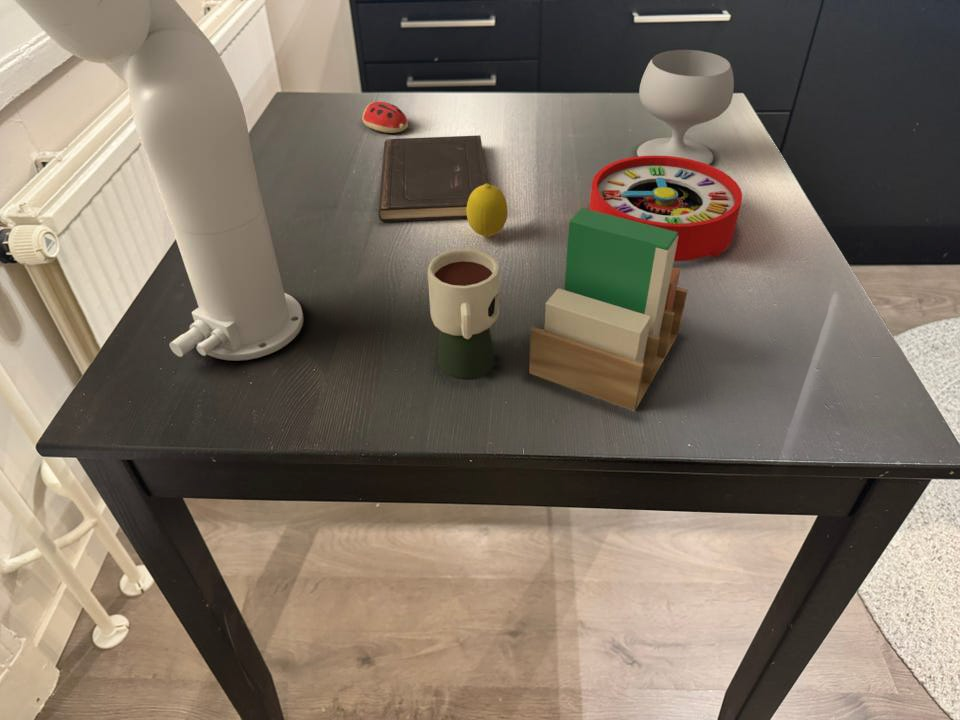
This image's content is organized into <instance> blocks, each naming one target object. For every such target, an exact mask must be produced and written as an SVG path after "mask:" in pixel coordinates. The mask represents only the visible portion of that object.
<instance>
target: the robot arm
mask: <svg viewBox="0 0 960 720" xmlns="http://www.w3.org/2000/svg"><path fill="white" fill-rule="evenodd" d="M14 2H16V4H17V5H19V7H20V8H22V9H23V10H24V11H25V12H26V14H27V15H28V16H29V17H30V18H31V19H32V20H33V21H34V22H35V23H36V24H37V25H38V26H39V27H40V28H41V29H42V30H43V32H44V33H45V34H46V35H47V36H49V38H50V39H51V40H53V41H54V42H55V43H57V45H58V46H59V47H61V48H63V49H64V50H65V51H67V52H68V53H70V54H71V55H73V56H75V57H77V58H79V59H82V60H85V61H87V62H90V63H94V64H101V65H103V64H104V65H106V67H107V68H108V69H109V70H110V71H111V72H112V73H113V74H114V75H116V77H118V78H119V80H120V81H122V83H123V84H124V85H126V87H127V89H128V90H127V91H128V99H129V103H130V109H131V113H132V118H133V123H134V126H135V129H136V132H137V136H138V138H139V142H140V145H141V147H142V150H143V152H144V154H145V157H146V160H147V162H148V164H149V167H150V170H151V172H152V175H153V178H154V181H155V183H156V186H157V189H158V192H159V195H160V198H161V201H162V204H163V207H164V210H165V212H166V216H167V218H168V222H169V223H170V226H171V229H172V232H173V235H174V238H175V241H176V244H177V246H178V247H177V248H178V250H179V252H180V253H179V254H180V255H181V258H182V261H183V264H184V268H185V271H186V273H187V277H188V279H189V282H190V286H191V288H192V291H193V294H194V297H195V300H196V304H197V306H198V307H197V308H195V309H194V310H193V311H191V316H192V318H193V321H194V322H192V323H191V324H190V325H189V330H187V331H186V332H184V333H182V334H180V335H179V336H178V337H176V338H175V339H173V340H172V341H170V342H169V348H170V350H171V351H172V353H173V354H174V355H175V356H177V357H179V358H182V357H184V356H185V355H186V354H188V353H189V352H190V351H192V350H193V349H194V348H196V351H197V352H198V353H199V354H200V355H201V356H203V357H206V356H210V357H212V358H215V359H219V360H224V361H234V362H235V361H249V360H253V359H259V358H262V357H264V356H268V355H270V354H273V353H276V352H278V351H279V350H281V349H283V348H284V347H286V346H287V345H288V344H289V343H291V342H292V341H293V340H294V339H295V338H296V337H297V336H298V334H299V333H300V332H301V330H302V328H303V325H304V320H305V319H304V313H303V309H302V306H301V304H300V302H299V301H298V300H297V299H296V298H295V297H293V296H292V295H290V294H288V293H286V292H285V290H284V286H283V282H282V277H281V273H280V270H279V265H278V260H277V256H276V252H275V249H274V248H275V247H274V243H273V240H272V234H271V230H270V226H269V223H268V222H269V221H268V219H267V214H266V210H265V206H264V201H263V197H262V194H261V190H260V189H261V188H260V185H259V180H258V176H257V173H256V167H255V163H254V158H253V157H254V156H253V153H252V146H251V141H250V135H249V134H250V133H249V128H248V124H247V123H248V122H247V119H246V114H245V110H244V106H243V104H242V101H241V97H240V95H239V92H238V90H237V87H236V85H235V83H234V81H233V79H232V77H231V74H230V72H229V71H228V69H227V68H226V66H225V63H224V61H223V59H222V57H221V55H220V53H219V52H218V51H217V49H216V47H215V45H214V44H213V43H212V41H210V39H209V38H208V36H206V34H205V33H204V32H203V31H202V30H201V28H200V27H199V26H198V25H197V24H196V23H195V21H194V20H193V19H192V18H191V17H190V15H188V13H187V12H186V11H185V10H184V8H182V6H181V5H180V4H179V3H178V1H177V0H14Z"/></svg>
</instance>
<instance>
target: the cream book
mask: <svg viewBox="0 0 960 720" xmlns="http://www.w3.org/2000/svg"><path fill="white" fill-rule="evenodd" d="M544 309H545V310H544V327H543V330H545V331H548V332H551V333H554V334H557V335H560V336H563V337H566V338H569V339H572V340H575V341H578V342H581V343H584V344H587V345H590V346H593V347H596V348H599V349H602V350H605V351H608V352H611V353H614V354H617V355H620V356H623V357H626V358H629V359H632V360H635V361H638V362H641V363H643V360H644V354H645V349H646V343H647V338H648V332H649V326H650V321H651V316H648V315H645V314H642V313H638V312H635V311H632V310H628V309H625V308H622V307H619V306H615V305H612V304H609V303H605V302H602V301H599V300H596V299H592V298H589V297H586V296H582V295H579V294H576V293H573V292H569V291H566V290H564V288H563V289H562V288H560V287H559V288H557V289H556V290H555V291H554V292H553V294H552V295H551V296H550V297H549V299H548V300H547V301H546V303H545V308H544Z"/></svg>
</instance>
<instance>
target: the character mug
mask: <svg viewBox="0 0 960 720" xmlns="http://www.w3.org/2000/svg"><path fill="white" fill-rule="evenodd" d="M427 282H428V283H427V284H428V296H429V297H428V298H429V311H430V318H431V321H432V323H433V325H434V327H436V328H437V329H438V330H439V331H440V332H439V339H438V351H437V352H438V353H437V354H438V355H437V361H438V367H439V368H440V370H441V372H443V374H445V375H447V376H449V377H453V378H457V379H466V380H469V379H477V378H480V377H483V376H484V375H486V374H487V373H489V372H491V370H492V368H493V367H494V366H495V356H494V346H493V339H492V334H491V326H493V325H494V324H495V323H496V321H498V320H497V319H498V318H499V315H500V313H499V312H500V266H499V262H498V261H497V259H495V257H493V256H492V255H490V254H488V253H487V252H484V251H481V250H477V249H472V248H456V249H451V250H447V251H444V252H443V253H440V254H438V255H436V256H435V257H433V259H432V260H431V261H430V262H429V265H428V267H427Z"/></svg>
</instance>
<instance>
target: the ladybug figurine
mask: <svg viewBox="0 0 960 720" xmlns="http://www.w3.org/2000/svg"><path fill="white" fill-rule="evenodd" d="M361 119H362V123H363V124H364V125H365V126H366V127H367V128H369V129H371V130H373V131H375V132H381V133H386V134H396V133H401V132H403V131H404V130H407V128H408V126H409V121H408V118H407V116H406V115H405V113H404V112H403V110H402V109H400V108H399V107H398V106H397V105H394V104H391V102H385V101H372V102H370V103H368V105H366V107H365V108H364V110H363V113H362V117H361Z"/></svg>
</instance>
